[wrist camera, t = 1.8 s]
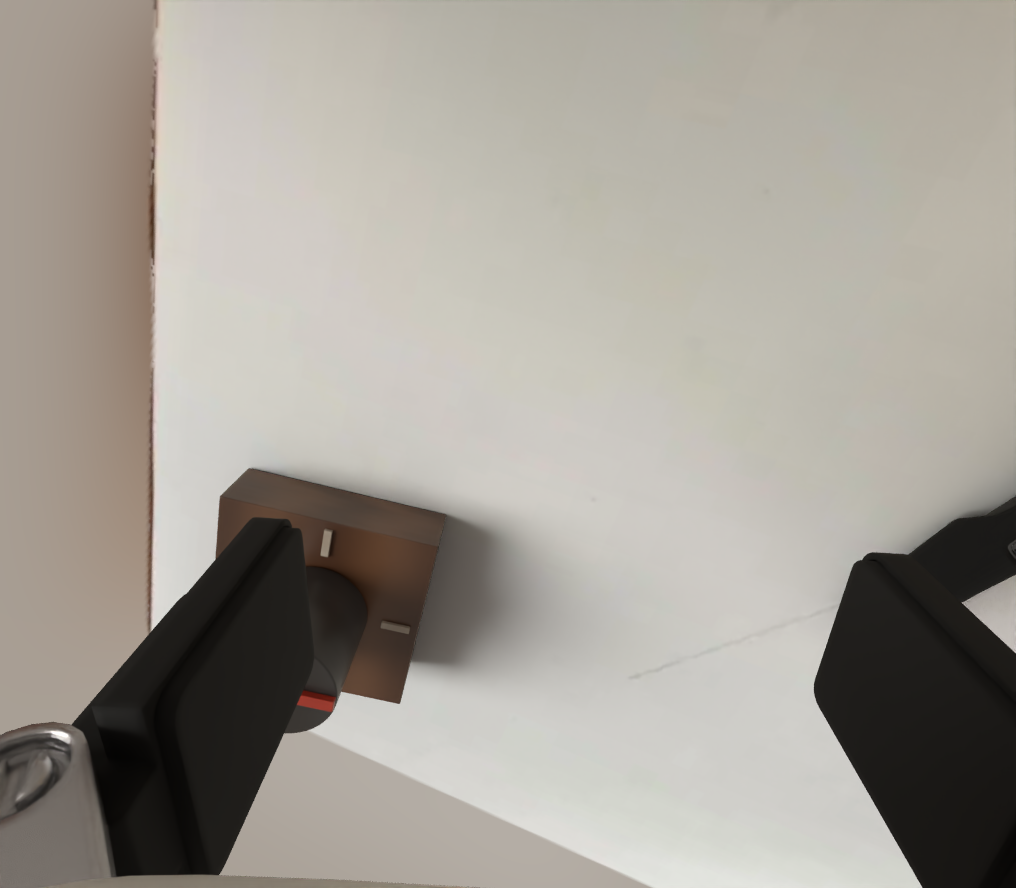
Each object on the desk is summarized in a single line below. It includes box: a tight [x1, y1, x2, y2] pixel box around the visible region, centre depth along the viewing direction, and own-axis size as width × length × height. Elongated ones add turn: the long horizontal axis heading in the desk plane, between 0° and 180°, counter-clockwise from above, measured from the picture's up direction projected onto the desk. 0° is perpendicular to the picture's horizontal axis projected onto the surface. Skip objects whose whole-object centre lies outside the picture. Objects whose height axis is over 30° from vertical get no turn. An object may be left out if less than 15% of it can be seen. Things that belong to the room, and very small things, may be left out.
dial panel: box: [216, 468, 446, 704], centre depth 30 cm, size 10×10×3 cm
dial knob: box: [284, 567, 367, 733], centre depth 26 cm, size 5×5×5 cm
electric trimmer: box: [909, 497, 1016, 603], centre depth 28 cm, size 4×16×3 cm, turn 132°
